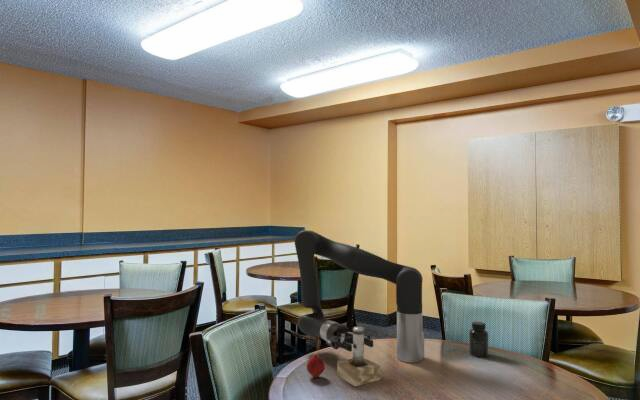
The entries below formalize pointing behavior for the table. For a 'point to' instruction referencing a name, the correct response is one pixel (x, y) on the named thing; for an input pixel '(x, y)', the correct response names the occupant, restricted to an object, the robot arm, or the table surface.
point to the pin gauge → (358, 346)
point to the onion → (315, 365)
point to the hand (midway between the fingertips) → (361, 346)
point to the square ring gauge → (358, 372)
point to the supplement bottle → (478, 340)
